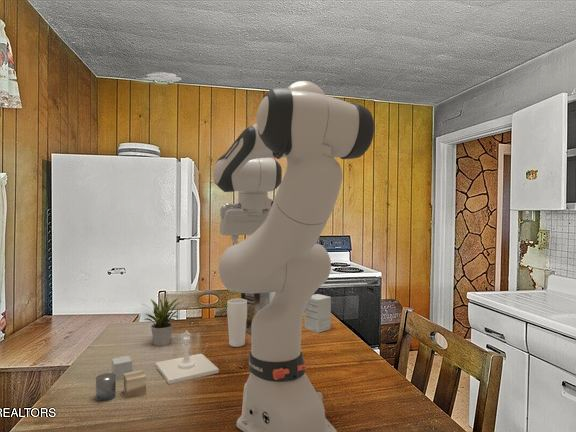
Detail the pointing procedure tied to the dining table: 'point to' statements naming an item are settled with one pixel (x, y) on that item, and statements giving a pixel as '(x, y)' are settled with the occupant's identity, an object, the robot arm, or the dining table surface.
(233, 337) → the drinking glass
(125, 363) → the grey block
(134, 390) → the birch block
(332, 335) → the dining table surface
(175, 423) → the dining table surface
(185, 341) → the chess piece
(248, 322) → the coffee box
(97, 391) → the metal tin
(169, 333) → the house plant
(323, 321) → the supplement box
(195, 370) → the ceramic tile
